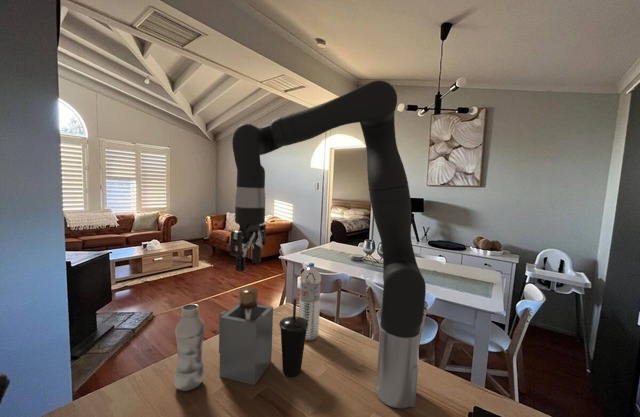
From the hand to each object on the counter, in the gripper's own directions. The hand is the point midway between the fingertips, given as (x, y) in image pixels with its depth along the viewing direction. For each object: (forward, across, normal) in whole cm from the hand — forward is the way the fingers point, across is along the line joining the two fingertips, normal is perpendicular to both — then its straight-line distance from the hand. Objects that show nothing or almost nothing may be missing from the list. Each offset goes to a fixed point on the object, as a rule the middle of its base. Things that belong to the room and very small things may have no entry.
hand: (248, 266), depth 74 cm
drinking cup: (+29, +3, -12) cm, 31 cm away
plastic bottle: (+29, -10, +10) cm, 32 cm away
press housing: (+28, 0, +2) cm, 28 cm away
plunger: (+27, 0, 0) cm, 27 cm away
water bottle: (+29, +21, -11) cm, 37 cm away
